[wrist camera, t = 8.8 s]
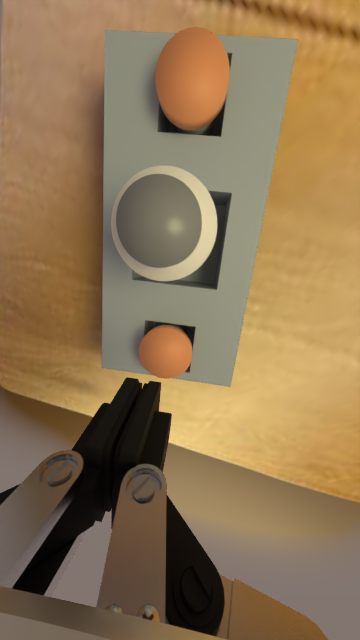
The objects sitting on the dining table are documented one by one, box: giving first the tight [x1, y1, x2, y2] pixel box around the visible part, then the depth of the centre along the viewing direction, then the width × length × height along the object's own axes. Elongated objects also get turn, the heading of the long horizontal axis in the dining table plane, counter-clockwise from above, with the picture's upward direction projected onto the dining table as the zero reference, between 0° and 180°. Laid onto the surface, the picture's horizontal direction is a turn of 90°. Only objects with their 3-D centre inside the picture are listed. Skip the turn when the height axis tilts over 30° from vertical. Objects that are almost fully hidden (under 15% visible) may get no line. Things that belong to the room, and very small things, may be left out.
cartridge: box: [111, 166, 217, 281], centre depth 15 cm, size 5×5×12 cm
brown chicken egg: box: [155, 27, 230, 136], centre depth 15 cm, size 4×4×5 cm
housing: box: [102, 30, 298, 387], centre depth 19 cm, size 24×12×5 cm, turn 174°
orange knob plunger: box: [139, 323, 193, 378], centre depth 20 cm, size 4×4×5 cm
